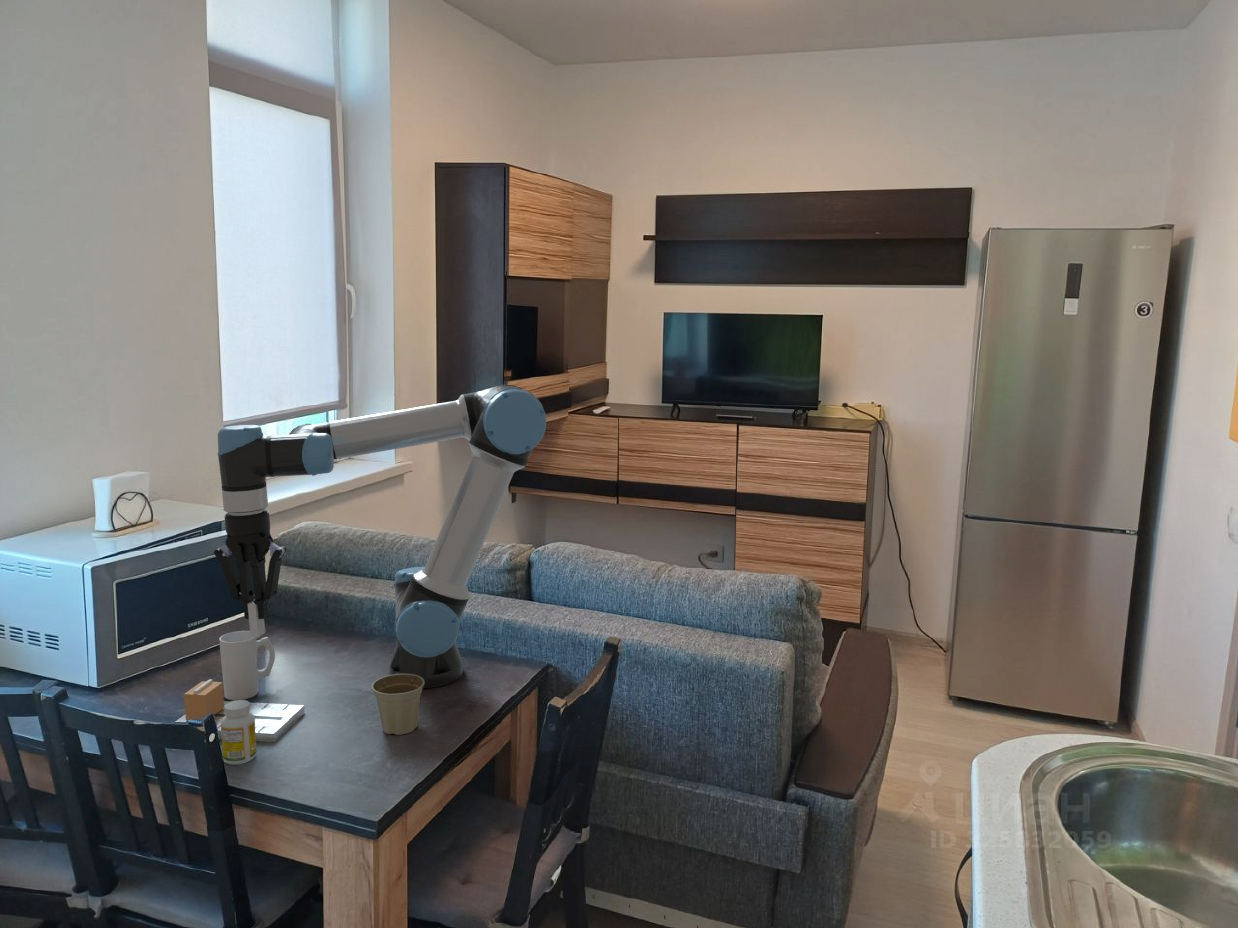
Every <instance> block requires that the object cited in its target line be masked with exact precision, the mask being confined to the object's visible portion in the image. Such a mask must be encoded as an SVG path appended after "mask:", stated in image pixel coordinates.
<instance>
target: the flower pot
mask: <svg viewBox="0 0 1238 928" xmlns="http://www.w3.org/2000/svg"><path fill="white" fill-rule="evenodd" d="M424 684H425V681H424V679H423V678H422V677H420V676H417V675H413V674H394V675H389V674H388V675H385V676H382V677H380V678H378V679H376V680H374V681H373V682H372V683H371V686H370V687H371V691H372V692H373V694H374V697H375V698H376V701H377V702H376V703H377V707H378V712H379V717H380V723H381V728H382V731H383V732H384V733H385V734H387V735H392V734H394V735H396V736H402V735H406V734H409V733H412V732H413V731H415V729H416V728H417V727H418V721H419V712H420V701H421V694H422V692H423V688H422V687H423V686H424Z"/></svg>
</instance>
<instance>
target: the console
mask: <svg viewBox="0 0 1238 928" xmlns="http://www.w3.org/2000/svg"><path fill="white" fill-rule="evenodd" d="M229 702H231V700H230V701H227V700H224V706H225V705H226V704H227V703H229ZM249 703H250V713H252V714H253V715H254V717H255V734H256V742H263V743H264V742H267V743H276V741H277V740H278V739H280V737H282V736H283V735H284V734H285V733H286V732H287V730H288V729H290V728H291V727H292V726H293V725H294V724H295V723H296V722H298V720H299V719H301V717H303V715H304V714H305V705H304V704H286V703H266V702H263V703H262V702H249ZM214 716H215V720H216V723H217V729H218V735H219V738H220V739H219V740H222V737H221V720H222V719H223V718H224V716H226V715H225V713H224V708H223V709H222V710H220V711H219V712H218V713H217V714H215V715H214ZM187 721H188V720H186V717H185V714H183V715H182V716H181V717H179V718H178V719H176V721H174V722H187Z"/></svg>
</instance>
